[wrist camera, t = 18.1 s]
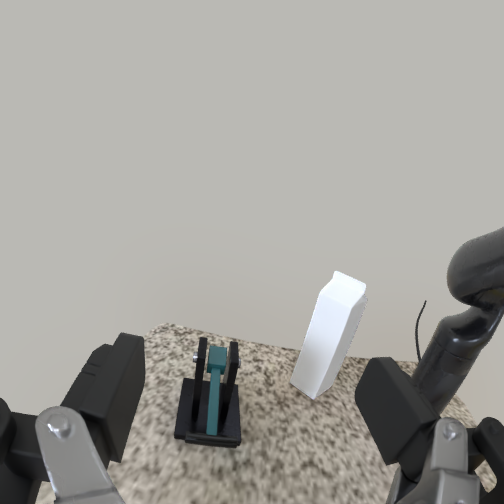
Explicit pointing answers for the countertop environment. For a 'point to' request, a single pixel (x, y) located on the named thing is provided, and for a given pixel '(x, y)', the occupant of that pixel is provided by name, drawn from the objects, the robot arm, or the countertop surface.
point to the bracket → (197, 398)
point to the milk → (329, 334)
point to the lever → (213, 404)
